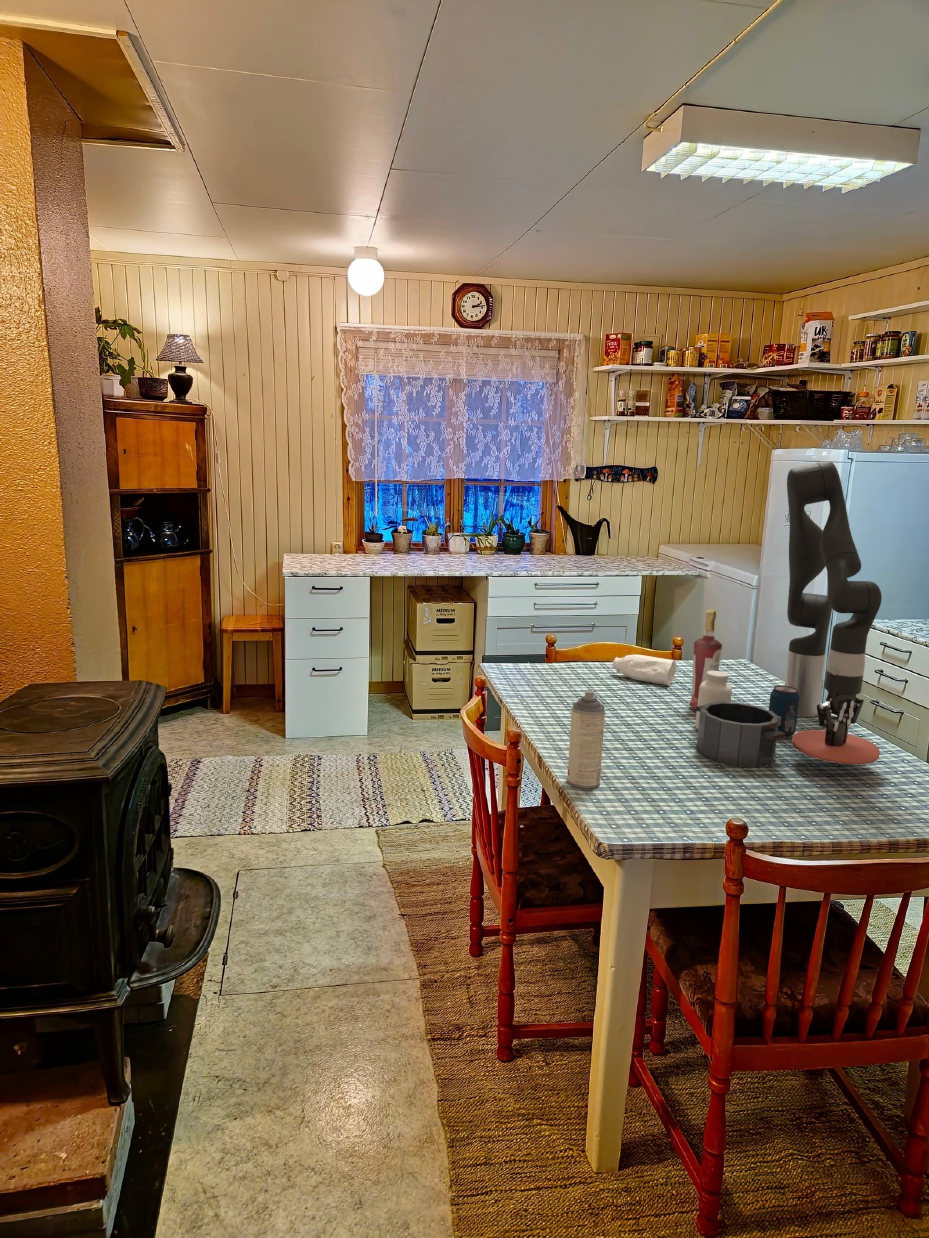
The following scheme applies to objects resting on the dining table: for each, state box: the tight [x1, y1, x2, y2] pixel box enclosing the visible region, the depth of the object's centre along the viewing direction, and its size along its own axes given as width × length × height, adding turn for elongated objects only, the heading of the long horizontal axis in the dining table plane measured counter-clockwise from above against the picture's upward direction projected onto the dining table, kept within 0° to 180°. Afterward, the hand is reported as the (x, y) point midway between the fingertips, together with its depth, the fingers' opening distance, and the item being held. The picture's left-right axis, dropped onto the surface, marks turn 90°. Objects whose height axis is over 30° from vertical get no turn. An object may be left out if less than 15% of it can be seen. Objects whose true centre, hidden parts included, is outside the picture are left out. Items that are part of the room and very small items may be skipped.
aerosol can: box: [566, 690, 606, 790], centre depth 168 cm, size 7×7×20 cm
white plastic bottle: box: [612, 654, 677, 687], centre depth 250 cm, size 8×19×8 cm, turn 58°
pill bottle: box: [695, 670, 733, 730], centre depth 205 cm, size 8×8×15 cm
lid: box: [791, 720, 881, 765], centre depth 182 cm, size 18×18×7 cm
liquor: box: [689, 609, 723, 712], centre depth 220 cm, size 7×7×28 cm
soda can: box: [768, 685, 800, 739], centre depth 204 cm, size 7×7×12 cm
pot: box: [695, 701, 786, 769], centre depth 189 cm, size 17×23×10 cm
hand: (835, 743), depth 182 cm, fingers closed on lid, 3 cm apart
